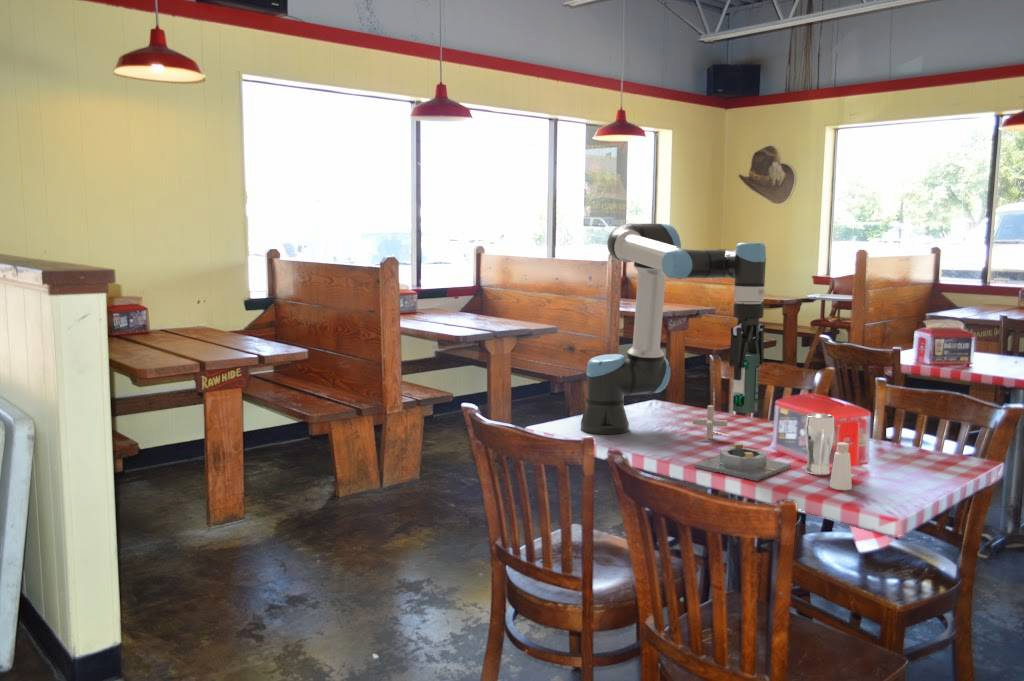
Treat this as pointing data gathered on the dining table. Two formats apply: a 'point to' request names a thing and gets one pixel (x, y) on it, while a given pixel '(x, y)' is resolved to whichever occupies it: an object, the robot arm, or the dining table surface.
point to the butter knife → (720, 433)
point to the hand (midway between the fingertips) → (745, 390)
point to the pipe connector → (710, 422)
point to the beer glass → (819, 442)
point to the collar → (743, 463)
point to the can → (748, 386)
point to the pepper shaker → (841, 468)
